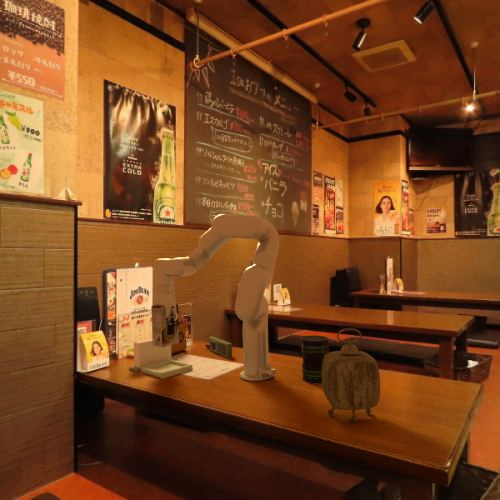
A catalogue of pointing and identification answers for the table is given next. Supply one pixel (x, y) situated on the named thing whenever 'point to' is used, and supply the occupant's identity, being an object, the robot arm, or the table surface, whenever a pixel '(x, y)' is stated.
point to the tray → (166, 368)
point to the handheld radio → (220, 347)
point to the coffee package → (180, 336)
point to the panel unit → (149, 354)
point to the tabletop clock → (350, 378)
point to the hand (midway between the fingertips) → (165, 332)
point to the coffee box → (163, 328)
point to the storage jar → (313, 357)
